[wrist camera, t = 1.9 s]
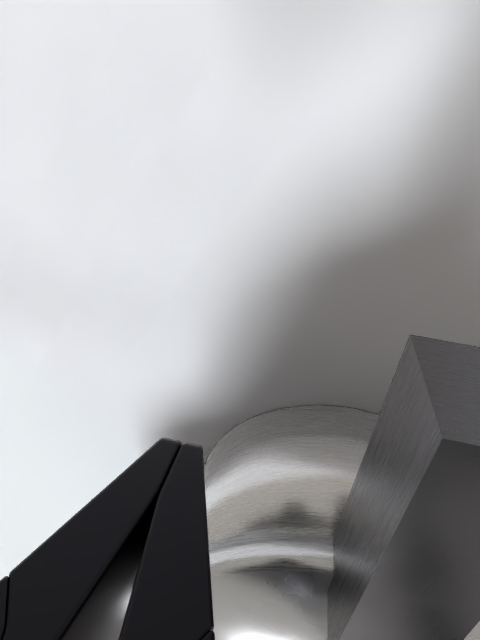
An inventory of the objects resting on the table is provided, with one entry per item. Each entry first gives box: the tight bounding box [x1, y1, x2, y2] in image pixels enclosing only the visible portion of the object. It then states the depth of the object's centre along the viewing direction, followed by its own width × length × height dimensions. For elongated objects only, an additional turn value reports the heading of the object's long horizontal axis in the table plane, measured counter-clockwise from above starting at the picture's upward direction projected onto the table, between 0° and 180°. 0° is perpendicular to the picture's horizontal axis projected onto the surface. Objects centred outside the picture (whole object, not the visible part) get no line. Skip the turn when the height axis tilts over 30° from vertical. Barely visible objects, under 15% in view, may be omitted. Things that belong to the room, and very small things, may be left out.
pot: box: [204, 405, 379, 544], centre depth 15 cm, size 20×11×5 cm, turn 115°
